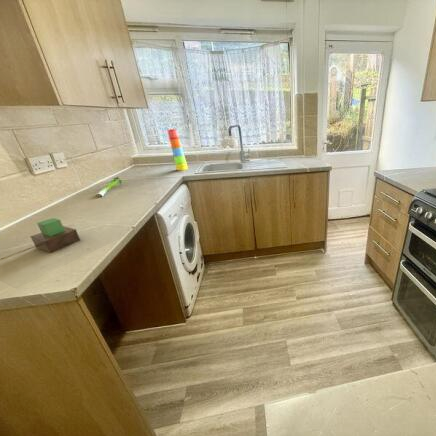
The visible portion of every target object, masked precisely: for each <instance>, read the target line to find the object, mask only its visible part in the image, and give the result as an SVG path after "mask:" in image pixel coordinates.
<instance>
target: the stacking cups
mask: <svg viewBox="0 0 436 436" xmlns="http://www.w3.org/2000/svg"><path fill="white" fill-rule="evenodd" d="M167 135H168V140H169V143H170V148H171V151H172V156H173V159H174V165H175V168H176V171H185V170H188V164H187V161H186V157H185V153H184V150H183V145H182V143H181V141H180V137H179V134H178V131H177V129H176V128H175V129H174V128H173V129H172V128H171V129H167Z"/></svg>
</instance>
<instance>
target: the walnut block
mask: <svg viewBox="0 0 436 436" xmlns="http://www.w3.org/2000/svg"><path fill="white" fill-rule="evenodd" d="M63 228H64V230H65V231H64V232H61V233H59V234H56V235H53V236H50V237H49V236H46V235H43V234H42V232H39V233H36V234H32V235H30V236H29V237H30V239H31V240H32V243H33V244H34V246H35V248H36V249H38V250H42V251H44V252H47V253H49V254H51V253H53V252H56V251H58V250H61V249H63V248H65V247H69V246H71V245H72V244H75V243H77V242H80V241H81V238H80V236H79V234H78V231H77V229H75V228H72V227H69V226H64V225H63Z"/></svg>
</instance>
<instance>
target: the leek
mask: <svg viewBox="0 0 436 436" xmlns="http://www.w3.org/2000/svg"><path fill="white" fill-rule="evenodd" d="M121 183H123V181H122V179H120V177H119V176H116V177H113V178H112V180H110V183H109V184H108V185H106V186H105V187H103V188H102V189H101V190H99V191H98V192H97V193H96V194H95V197H98V195H99V196H101V198H103V197H104V196H105V194H106V193H107V192H108V191H109V190H110V189H111V188H113V187H114V186H116V185H118V184H119V185H121Z"/></svg>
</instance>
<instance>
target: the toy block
mask: <svg viewBox="0 0 436 436" xmlns="http://www.w3.org/2000/svg"><path fill="white" fill-rule="evenodd" d="M36 224H37V227H38V229H39V230H40V233H42V234H43V235H46V236H49V237H50V236H53V235H56V234H59V233H61V232H64V231H65V230H64V228H63V226H64V225H63V223H62V221H61V219H58V218H55V217H51V218H48V219H44V220H42V221H38V222H36Z"/></svg>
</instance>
